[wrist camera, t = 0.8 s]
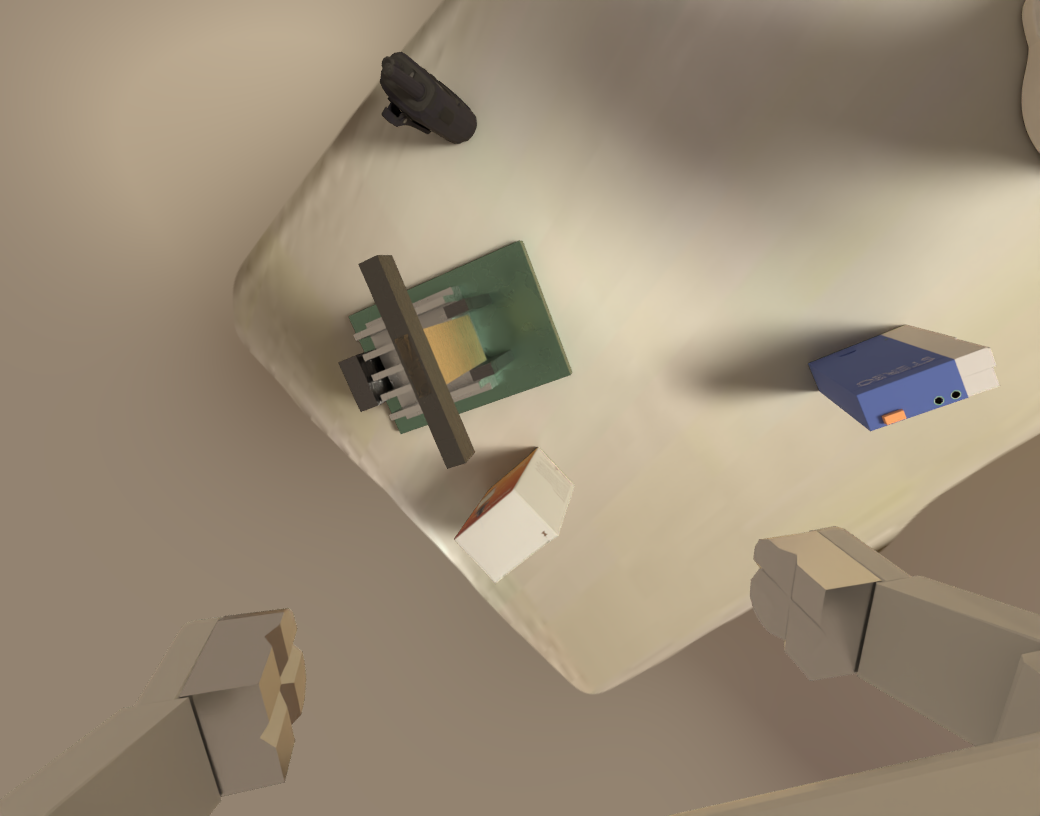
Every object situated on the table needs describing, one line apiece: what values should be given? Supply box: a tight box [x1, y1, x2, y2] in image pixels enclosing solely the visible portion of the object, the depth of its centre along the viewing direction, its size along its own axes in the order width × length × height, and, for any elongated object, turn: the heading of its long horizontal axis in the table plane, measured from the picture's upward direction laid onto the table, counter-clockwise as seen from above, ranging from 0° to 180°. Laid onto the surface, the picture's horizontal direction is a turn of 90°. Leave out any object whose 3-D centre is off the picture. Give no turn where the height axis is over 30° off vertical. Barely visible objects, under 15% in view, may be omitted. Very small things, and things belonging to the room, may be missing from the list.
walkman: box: [808, 325, 1000, 431], centre depth 40 cm, size 8×3×12 cm, turn 117°
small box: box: [454, 447, 575, 583], centre depth 51 cm, size 8×6×10 cm
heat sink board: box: [339, 241, 572, 434], centre depth 50 cm, size 19×13×8 cm
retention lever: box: [359, 255, 487, 469], centre depth 40 cm, size 1×14×12 cm, turn 22°
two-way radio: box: [380, 52, 477, 144], centre depth 41 cm, size 6×4×15 cm
